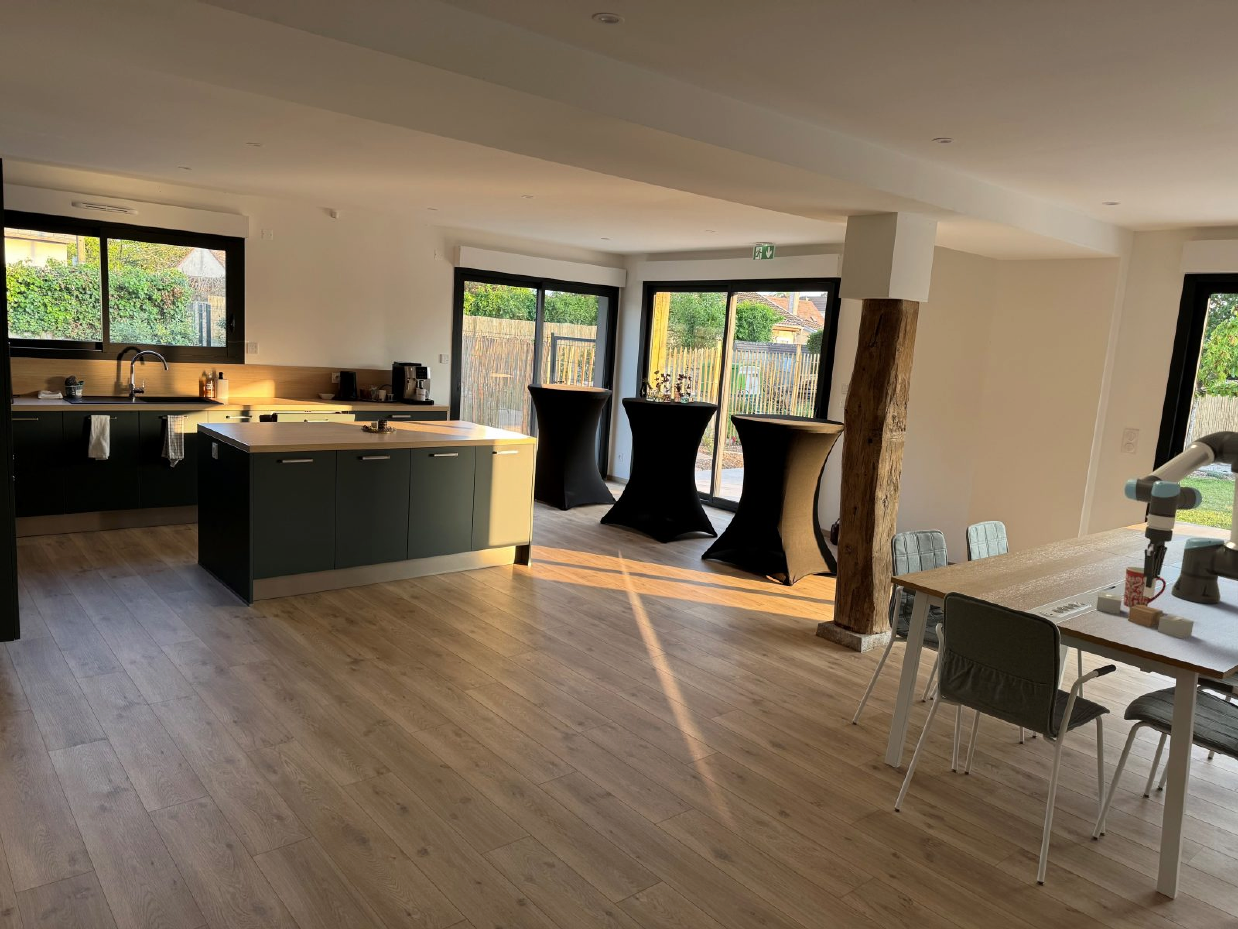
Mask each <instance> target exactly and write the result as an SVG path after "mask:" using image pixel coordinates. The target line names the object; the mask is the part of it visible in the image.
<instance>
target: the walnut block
mask: <svg viewBox="0 0 1238 929" xmlns="http://www.w3.org/2000/svg"><path fill="white" fill-rule="evenodd" d="M1163 612H1164V610H1161V609H1157V608H1154V607H1151V606H1149V605H1148V606H1144V605H1137V606H1132V607H1129V612H1128V618H1127V621H1128V622H1131V623H1135V624H1137V625H1141V626H1144V627H1147V628H1153V627H1157V626H1159V621H1160V617H1163V614H1164V613H1163Z"/></svg>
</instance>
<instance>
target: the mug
mask: <svg viewBox="0 0 1238 929" xmlns="http://www.w3.org/2000/svg"><path fill="white" fill-rule="evenodd" d="M1125 570H1126V571H1125V580H1124V581H1125V583H1124V593H1123V594H1124V595H1123V605H1124V606H1125V607H1128V608H1130V607H1132V606H1137V605H1144V606H1148V607H1149V604H1150V603H1152V602H1153V601H1155V600H1156V599H1158V598H1159V596H1161V595H1162V594H1163V593H1164V591H1165V590H1166V587H1167V583H1166V581H1165V579H1164V578H1162V577H1160V578H1156V579H1157V580H1156V582H1157V581H1161V582H1162V588H1161V589H1160V591H1159V592H1158V593H1157V594H1154V597H1153V598H1150V597H1146V596H1143V592H1144V586H1145V580H1146V577H1143V575H1144V567H1139V566H1126V567H1125Z"/></svg>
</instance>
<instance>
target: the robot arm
mask: <svg viewBox="0 0 1238 929" xmlns="http://www.w3.org/2000/svg"><path fill="white" fill-rule="evenodd" d="M1215 463H1222V464H1226V465H1230V472H1231V474H1233V475H1234V476H1235V477H1234V478H1235V481H1234V482H1235V483H1234V490H1233V502H1232V515H1231V525H1230V526H1231V527H1230V537H1229V538H1230V539H1229V540H1228V541H1226V542H1225V540H1224V539H1221V538H1212V537H1190V538H1188V539H1186V541H1185V545H1184V548H1183V555H1182V561H1181V562H1182V563H1181V567H1180V568H1181V569H1180V573H1179V576H1178V578H1177V579H1176V581H1175V583H1174V584H1173V585H1172V588H1171V595H1172V596H1174V597H1176V598H1179V599H1182V600H1186V601H1189V602H1195V603H1201V604H1210V605H1211V604H1212V605H1217V604H1219V603H1220V602H1221V592H1220V588H1219V583H1218V580H1219V579H1218V578H1219V577H1221V578H1224V579H1229V580H1233V581H1236V582H1238V432H1237V431H1233V430H1225V431H1223V430H1222V431H1217V432H1212V433H1210V434H1207V435H1204V436H1201V437H1199V438H1198V439H1196V440H1194V441H1192V442H1191V443H1189V444H1188V445H1187V446H1186V448H1185V450H1184V451H1182V452H1181V453H1179V454H1178V455H1176V456H1175V457H1174V458H1172V459H1170V460H1169V461H1167V462H1166V463H1164V464H1163V465H1162V466H1160V467H1158V468H1156V469H1155V470H1153V471H1152V472H1151V473H1150V474H1149V473H1148V475H1147V476H1145V477H1143V478H1142V479H1141V478H1129V479H1128V480H1127V482H1126V483H1125V485H1124V495H1125V497H1126V498H1127V499H1129V500H1132V501H1136V502H1142V503H1145V504H1146V503H1147V504H1149V507H1148V508H1149V509H1148V510H1149V511H1148V515H1146V518H1147V521H1146V525H1147V526H1146V527H1145V532H1144V538H1146V539H1147V540H1148V539H1149V543H1148V544H1147V548H1145V549H1144V562H1143V563H1144V564H1143V568H1144V575H1143V577H1146V580H1145V586H1144V592H1143V596H1146V597H1149V598H1153V597H1154V596H1155V590H1156V584H1157V581H1158V580H1157V579H1156V578H1161V576H1160V575H1161V572H1162V567H1163V564H1164V561H1165V556H1166V554H1167V551H1168V547H1167V546H1165V545H1166V543H1167V542H1168V543H1169V542H1171V541H1172V539H1173V529H1174V528H1175V522H1176V514H1177V511H1180V510H1186V511H1189V510H1194V509H1196V508H1198V507H1199V506H1200V505H1201V504H1202V501H1203V496H1202V493H1201V492H1200V490H1199V489H1198V488H1195V487H1192V486H1181V484H1180V483H1179V482H1181V481H1183V480H1184V479H1186V478H1187V477H1189V476H1190V475H1191V474H1193V473H1195V472H1196V471H1197V470H1199V469H1200V468H1202V467H1208V466H1210V465H1212V464H1215ZM1156 580H1157V581H1156Z"/></svg>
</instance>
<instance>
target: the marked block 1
mask: <svg viewBox="0 0 1238 929" xmlns="http://www.w3.org/2000/svg"><path fill="white" fill-rule="evenodd" d="M1121 605H1122V595H1117V594H1111V593H1107V592H1100V591H1098V595H1097V600H1096V608H1095V609H1096V611H1099V610H1100V612H1105V613H1111V614H1115V613H1117V614H1116V615H1120V613H1121Z"/></svg>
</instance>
